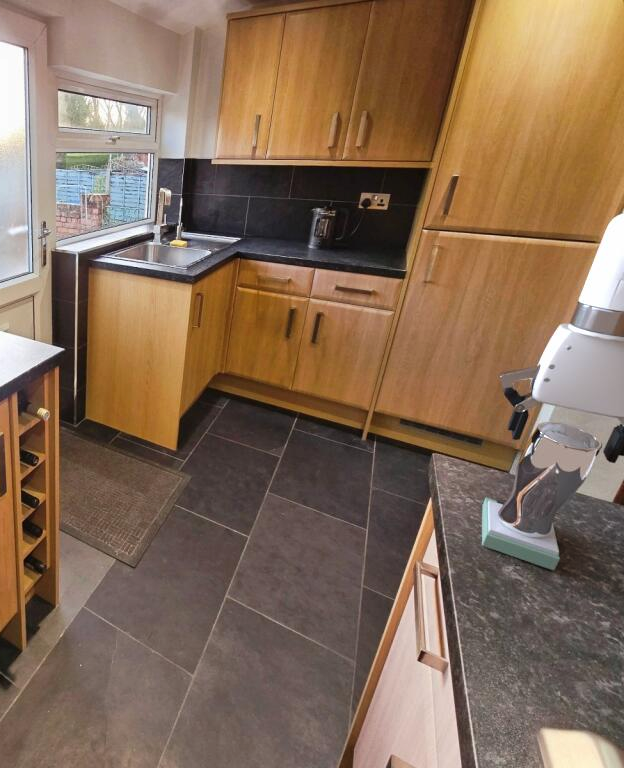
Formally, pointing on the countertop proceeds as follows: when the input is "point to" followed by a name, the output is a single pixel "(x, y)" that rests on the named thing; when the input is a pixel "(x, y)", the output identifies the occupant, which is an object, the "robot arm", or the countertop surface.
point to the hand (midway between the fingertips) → (560, 446)
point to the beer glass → (548, 476)
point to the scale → (517, 539)
